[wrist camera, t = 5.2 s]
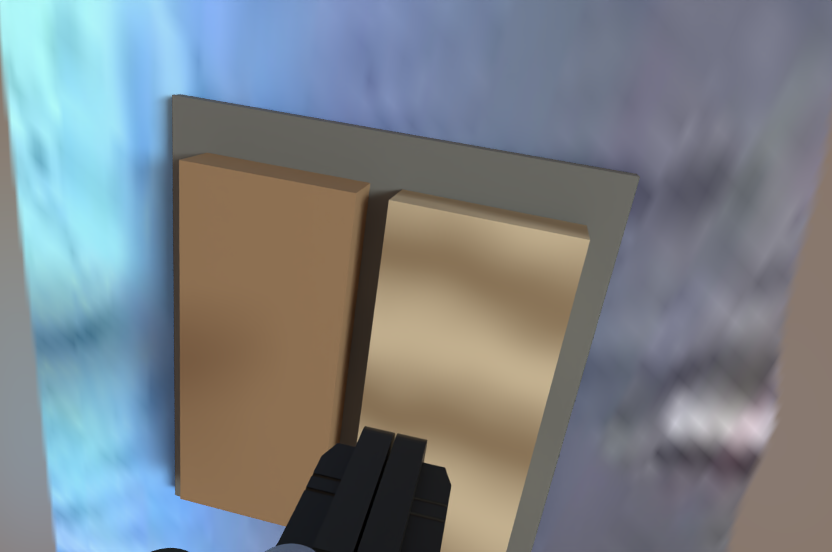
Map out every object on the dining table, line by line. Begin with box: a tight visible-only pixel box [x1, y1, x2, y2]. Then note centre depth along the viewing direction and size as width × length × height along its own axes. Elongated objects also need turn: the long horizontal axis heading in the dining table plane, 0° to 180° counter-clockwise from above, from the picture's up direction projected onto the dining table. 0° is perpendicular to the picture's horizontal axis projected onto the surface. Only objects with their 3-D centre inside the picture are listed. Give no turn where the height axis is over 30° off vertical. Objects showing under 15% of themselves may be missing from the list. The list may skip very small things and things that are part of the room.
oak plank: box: [357, 189, 590, 552], centre depth 23 cm, size 16×7×2 cm, turn 171°
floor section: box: [172, 94, 640, 552], centre depth 24 cm, size 20×18×3 cm
